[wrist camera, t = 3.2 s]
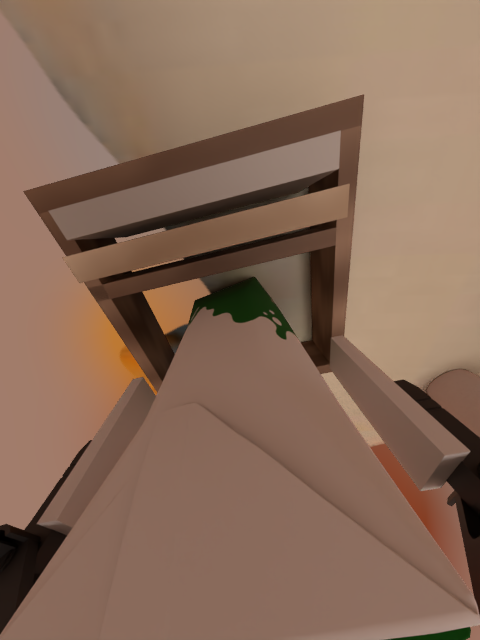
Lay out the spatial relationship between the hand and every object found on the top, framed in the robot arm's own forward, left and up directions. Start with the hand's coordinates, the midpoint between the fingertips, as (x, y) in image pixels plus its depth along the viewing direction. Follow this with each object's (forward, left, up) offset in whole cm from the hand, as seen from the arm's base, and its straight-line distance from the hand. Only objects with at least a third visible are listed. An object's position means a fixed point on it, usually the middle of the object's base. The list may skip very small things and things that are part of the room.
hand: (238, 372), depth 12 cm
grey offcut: (-11, 0, -9) cm, 14 cm away
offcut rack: (-3, 0, -9) cm, 10 cm away
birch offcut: (-9, 0, -9) cm, 13 cm away
